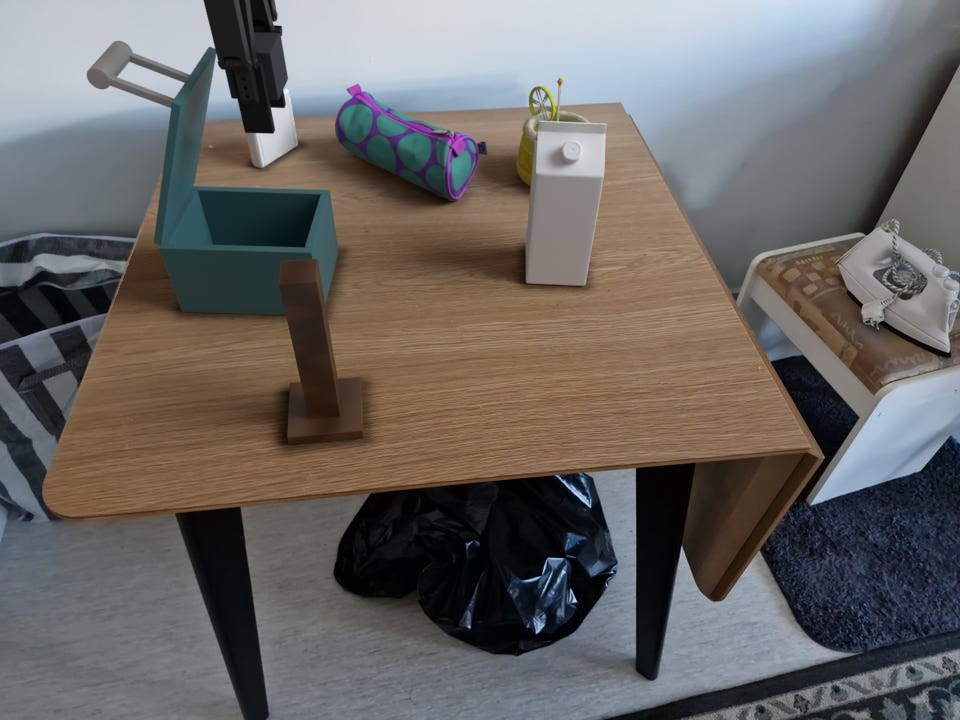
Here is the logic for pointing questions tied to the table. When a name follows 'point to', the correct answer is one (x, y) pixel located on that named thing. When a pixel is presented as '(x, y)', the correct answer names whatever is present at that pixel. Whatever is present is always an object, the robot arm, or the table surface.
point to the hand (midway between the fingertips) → (266, 117)
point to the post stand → (316, 363)
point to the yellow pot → (531, 129)
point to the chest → (246, 246)
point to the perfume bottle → (274, 136)
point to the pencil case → (408, 145)
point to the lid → (182, 124)
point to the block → (268, 64)
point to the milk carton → (564, 201)
